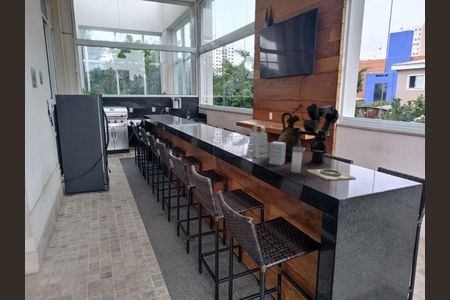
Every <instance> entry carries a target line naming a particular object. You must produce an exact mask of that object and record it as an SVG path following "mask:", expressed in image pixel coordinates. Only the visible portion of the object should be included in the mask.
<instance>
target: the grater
mask: <svg viewBox="0 0 450 300" xmlns="http://www.w3.org/2000/svg"><path fill="white" fill-rule="evenodd" d="M258 127H260V128H261V130H260V131H258ZM249 135H250V136H249V141H248V145H247V149H246V154H245V156H248V157H252V158H255V157H256V158H257V159H261V158H260V157H262V158H268V157H267V156H269V145H268V133H267V132H266V126H265V125H259V124H257V125H254V126H253V127H252V131H250V134H249Z"/></svg>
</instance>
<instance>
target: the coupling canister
mask: <svg viewBox="0 0 450 300" xmlns="http://www.w3.org/2000/svg"><path fill="white" fill-rule="evenodd" d="M303 151H304V148H303V147H302V146H301V147H293V154H292V160H291V168H290V172H291V173H298V174H299V173H301V170H302V160H303Z"/></svg>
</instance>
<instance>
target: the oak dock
mask: <svg viewBox="0 0 450 300" xmlns="http://www.w3.org/2000/svg"><path fill="white" fill-rule="evenodd" d="M306 172H308V173H310V174H312V175H314V176H316V177H318V178H321V179H323V180H325V181H327V182H328V180H330V181H344V179H350V180H354V179H353V178H356V176H352V175H350V174H349V173H345V172H342V171H340V170H337V169H334V168H321V169H306Z"/></svg>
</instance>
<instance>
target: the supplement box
mask: <svg viewBox="0 0 450 300" xmlns="http://www.w3.org/2000/svg"><path fill="white" fill-rule="evenodd" d="M269 146H270V147H269V158H268V164H270V165H275V166H282V165H284V164H285V161H286V160H285V150H286V143H284V142H277V141H276V140H275V141H272V142H270V145H269Z"/></svg>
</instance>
